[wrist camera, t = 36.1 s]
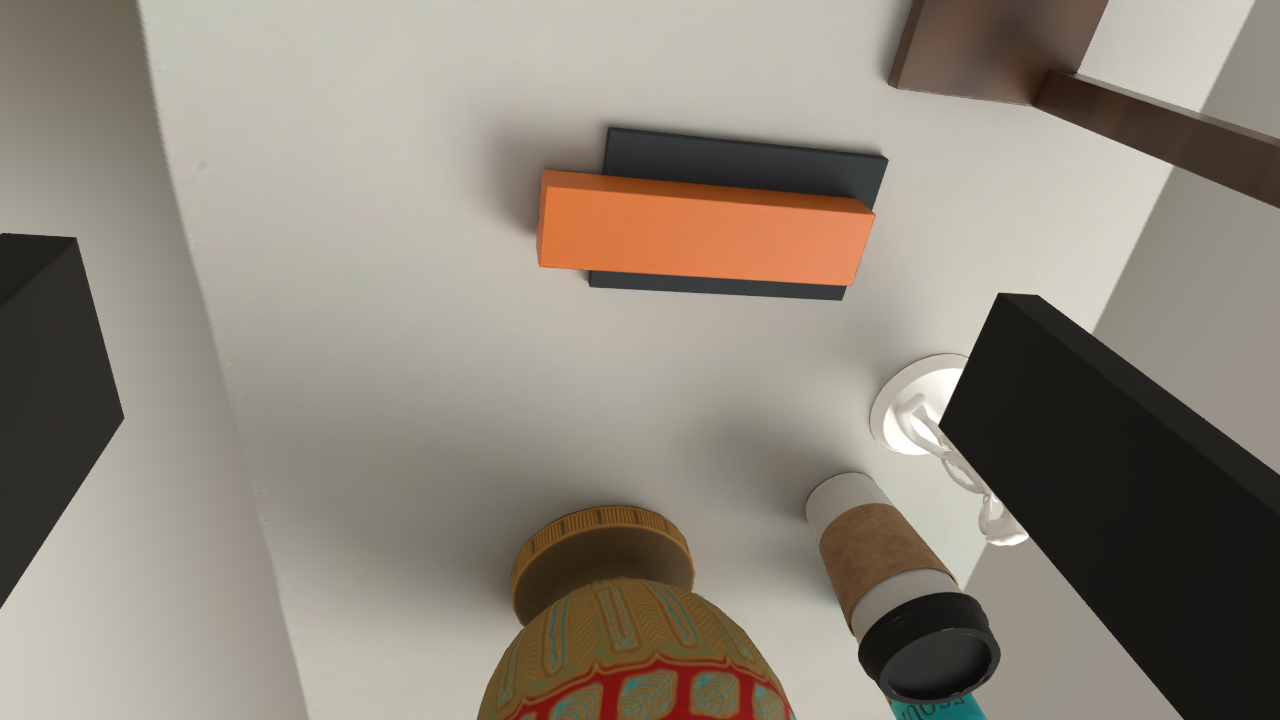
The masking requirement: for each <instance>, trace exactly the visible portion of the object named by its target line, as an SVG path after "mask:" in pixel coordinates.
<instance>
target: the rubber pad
mask: <svg viewBox="0 0 1280 720" xmlns="http://www.w3.org/2000/svg"><path fill="white" fill-rule="evenodd" d="M888 161H889V160H888V159H887V158H885V157H883V156H874V155H864V154H855V153H846V152H836V151H827V150H817V149H808V148H799V147H789V146H780V145H770V144H761V143H752V142H742V141H733V140H723V139H714V138H704V137H695V136H686V135H676V134H667V133H657V132H648V131H639V130H629V129H620V128H610V127H609V128H608V134H607V141H606V149H605V157H604V165H603V173H602V175H607V176H618V177H629V178H640V179H650V180H661V181H672V182H683V183H694V184H705V185H715V186H726V187H737V188H748V189H759V190H770V191H780V192H791V193H802V194H813V195H824V196H835V197H845V198H856V199H858V200H859V201H860V202H861V203H862V204H864V205H865V206H866V207H867V208H868V209H870V210H871V211H872V209H873V206H874V203H875V200H876V197H877V194H878V191H879V188H880V185H881V182H882V179H883V176H884V173H885V170H886V167H887V164H888ZM588 283H589V286H590V287H597V288H616V289H634V290H653V291H672V292H690V293H709V294H727V295H746V296H765V297H783V298H802V299H820V300H839V301H842V299H843V296H844V293H845V290H846V287H847V286H843V285H827V284H810V283H794V282H777V281H761V280H745V279H728V278H712V277H695V276H679V275H663V274H646V273H630V272H613V271H597V270H590V274H589V282H588Z"/></svg>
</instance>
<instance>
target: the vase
mask: <svg viewBox="0 0 1280 720" xmlns="http://www.w3.org/2000/svg"><path fill="white" fill-rule="evenodd" d="M511 575H512V597H513V610H514V612H515V614H516V616H517V618H518V620H519V622H520V624H522V625H523V626H524V628H523V629H522V630H521V631H520V633H519V634H518V635H517V637H516V638H515V639H514V640H513V642H512V643H511V644H510V646H509V647H508V648H507V649H506V651H505V653H504V655H503V656H502V658H501V660H500V662H499V664H498V666H497V668H496V670H495V671H494V673H493V675H492V677H491V679H490V681H489V683H488V685H487V688H486V691H485V694H484V697H483V700H482V703H481V706H480V709H479V713H478V717H477V720H796V718H795V715H794V713H793V711H792V708H791V706H790V704H789V701H788V699H787V697H786V695H785V692H784V690H783V688H782V685H781V683H780V681H779V679H778V678H777V676H776V675H775V674H774V672H773V671H772V669H771V668H770V666H769V665H768V663H767V662H766V660H765V659H764V658H763V656H762V655H761V653H760V652H759V650H758V649H757V647H756V646H755V645H754V643H753V642H752V641H751V639H750V638H749V637H748V635H747V634H746V633H745V631H744V630H743V629H742V628H741V627H740V626H739V625H737V624H736V623H735V622H734V621H733V620H732V619H730V618H729V617H728V616H727V615H726V614H725V613H724V612H722V611H721V610H720V609H719V608H718V607H716V606H715V605H713V604H712V603H710V602H709V601H707V600H705V599H704V598H702V597H701V596H699V595H698V594H695V593H692V592H691V591H692V589H693V584H694V577H695V570H694V566H693V562H692V558H691V555H690V552H689V549H688V546H687V543H686V540H685V538H684V537H683V535H682V534H681V533H680V531H679V530H678V529H677V527H676V526H675V525H673V524H672V523H670V522H669V521H668V520H666V519H665V518H663V517H662V516H660V515H658V514H655V513H652V512H649V511H646V510H643V509H640V508H631V507H622V506H611V507H600V508H591V509H588V510H584V511H581V512H577V513H574V514H570V515H567V516H565V517H563V518H561V519H559V520H557V521H555V522H553V523H551V524H549V525H547V526H546V527H545V528H543V529H542V530H541V531H540V532H538V533H537V534H536V535H535V536H534V537H532V538H531V539H530V540H529V541H528V542H527V544H526V545H525V546H524V548H523V549H522V550H521V552H520V553H519V554H518V556H517V558H516V561H515V564H514V567H513V570H512V573H511Z"/></svg>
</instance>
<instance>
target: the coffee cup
mask: <svg viewBox="0 0 1280 720" xmlns="http://www.w3.org/2000/svg"><path fill="white" fill-rule="evenodd" d="M805 512H806V517H807V520H808V522H809V525H810V527H811V530H812V532H813V535H814V537H815V539H816V542H817V544H818V547H819V549H820V553H821V556H822V558H823V561H824V564H825V566H826V569H827V572H828V574H829V577H830V580H831V582H832V585H833V588H834V590H835V593H836V596H837V598H838V601H839V603H840V606H841V609H842V611H843V614H844V617H845V619H846V622H847V625H848V627H849V630H850V631H851V633H852V635H853V636H854V637H856V639H857V641H858V644H859V650H858V658H859V662H860V664H861V665H862V667H863V669H864V670H865V672H866V674H867V675H868V676H869V677H870V678H871V679H873V680H874V681H875V682H876V683H877V685H878V686H879V688H880V689H881V691H882V692H883V693H884V694H885V695H886V696H888V697H889V698H891V699H893V700H895V701H898V702H902V703H906V704H913V705H933V704H941V703H946V702H950V701H953V700H956V699H958V698H961V697H963V696H965V695H967V694H969V693H970V692H972V691H974V690H975V689H977V688H978V687H980V686H981V685H983V684H984V683H985V682H987V681H988V680H989V679H990V678H991V676H992V675H993V673H994V671H995V670H996V668H997V666H998V663H999V661H1000V656H1001V653H1000V648H999V646H998V643H997V642H996V640H995V638H994V636H993V634H992V632H991V630H990V628H989V624H988V623H989V622H988V619H987V616H986V614H985V613H984V612H983V610H982V608H981V605H980V604H979V603H978V601H977V600H976V599H974V598H973V597H971V596H969V595H966V594H963V592H962V591H961V590H960V589H959V587H958V583H957V580H956V579H955V577H954V576H953V575H952V574H951V573H950V571H949V570H948V569H947V568H946V567H945V565H944V564H943V563H942V562H941V561H940V559H939V558H938V557H937V556H936V555H935V554H934V552H933V551H932V550H931V549H930V548H929V546H928V545H927V544H926V543H925V542H924V540H923V539H922V538H921V537H920V536H919V534H918V533H917V532H916V531H915V530H914V529H913V527H912V526H911V525H910V524H909V523H908V521H907V520H906V519H905V518H904V517H903V515H902V514H901V513H900V512H899V511H898V510H897V509H896V508H895V507H894V505H893V504H892V503H891V502H890V500H889V499H888V498H887V496H886V495H885V494H884V493H883V491H882V490H881V489H880V488H879V486H878V485H877V484H876V483H875V482H874V480H873V479H872V478H870V477H869V476H867V475H864V474H862V473H844V474H840V475H837V476H834V477H832V478H830V479H828V480H826V481H824V482H823V483H821V484H820V485H819V486H818V487H817V488H816V489H815V490H814V491H813V492H812V493H811V495H810V496H809V498H808V500H807V503H806V508H805Z"/></svg>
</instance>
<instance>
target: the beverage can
mask: <svg viewBox="0 0 1280 720" xmlns="http://www.w3.org/2000/svg"><path fill="white" fill-rule="evenodd" d="M884 695H885V694H884ZM885 697H886V699H887V701H888V703H889V705H890V707H891V709H892V711H893V713H894V715H895V717H896V719H897V720H987V719H986V717H985V716H984V714H983V712H982V711H981V709H980V707H979V706H978V704H977V702H976V701H975V699H974V697H973V696H972V694H971V693H969V694H967V695H965V696H963V697H961V698H958V699H956V700H953V701H950V702H946V703H941V704H933V705H913V704H906V703H902V702H898V701H895V700H893V699H891V698H889V697H888V696H886V695H885Z"/></svg>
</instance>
